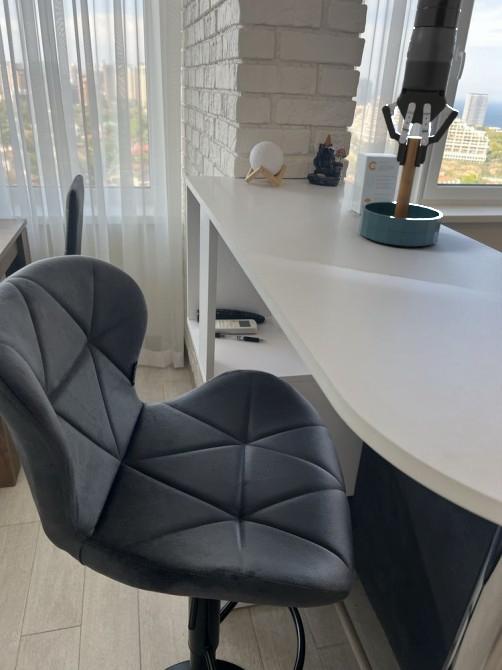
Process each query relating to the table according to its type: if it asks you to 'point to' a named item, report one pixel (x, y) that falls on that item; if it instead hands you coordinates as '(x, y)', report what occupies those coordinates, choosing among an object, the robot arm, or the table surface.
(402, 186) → the wooden stick
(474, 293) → the table surface
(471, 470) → the table surface
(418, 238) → the bowl
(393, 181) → the small box
